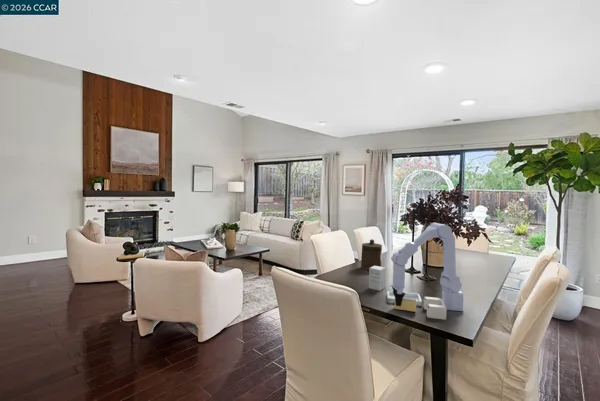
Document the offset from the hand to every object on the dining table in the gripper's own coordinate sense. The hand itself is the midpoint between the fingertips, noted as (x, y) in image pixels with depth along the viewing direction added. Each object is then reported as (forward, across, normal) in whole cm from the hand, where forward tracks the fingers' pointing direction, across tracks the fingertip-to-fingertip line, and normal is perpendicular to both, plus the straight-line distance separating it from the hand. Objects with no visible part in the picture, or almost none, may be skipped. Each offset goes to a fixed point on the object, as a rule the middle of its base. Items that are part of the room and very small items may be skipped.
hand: (397, 303), depth 151 cm
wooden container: (+3, -75, -14) cm, 76 cm away
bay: (+3, 0, +17) cm, 17 cm away
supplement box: (+3, -30, -10) cm, 32 cm away
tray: (+3, -13, +4) cm, 14 cm away
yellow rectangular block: (+2, 0, +4) cm, 4 cm away
